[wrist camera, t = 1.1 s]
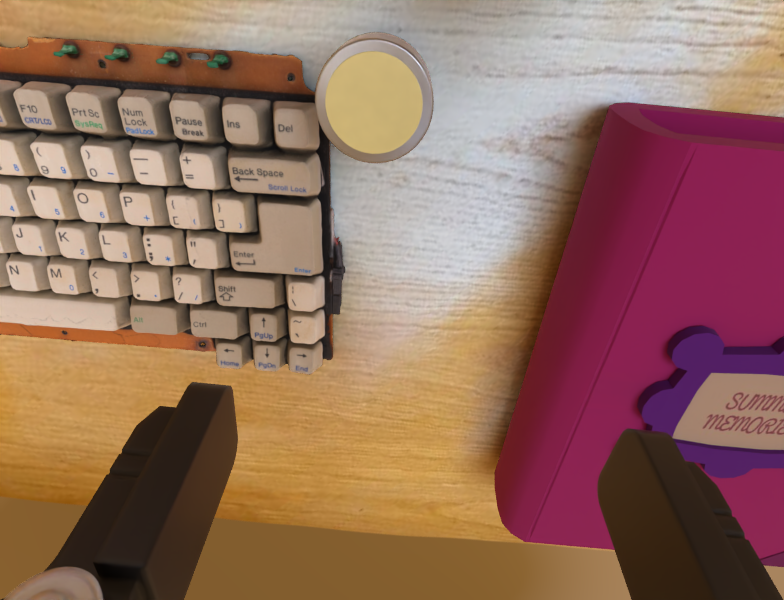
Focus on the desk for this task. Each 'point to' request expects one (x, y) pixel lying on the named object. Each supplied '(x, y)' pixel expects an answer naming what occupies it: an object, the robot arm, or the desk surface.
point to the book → (661, 326)
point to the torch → (374, 98)
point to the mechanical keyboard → (166, 202)
